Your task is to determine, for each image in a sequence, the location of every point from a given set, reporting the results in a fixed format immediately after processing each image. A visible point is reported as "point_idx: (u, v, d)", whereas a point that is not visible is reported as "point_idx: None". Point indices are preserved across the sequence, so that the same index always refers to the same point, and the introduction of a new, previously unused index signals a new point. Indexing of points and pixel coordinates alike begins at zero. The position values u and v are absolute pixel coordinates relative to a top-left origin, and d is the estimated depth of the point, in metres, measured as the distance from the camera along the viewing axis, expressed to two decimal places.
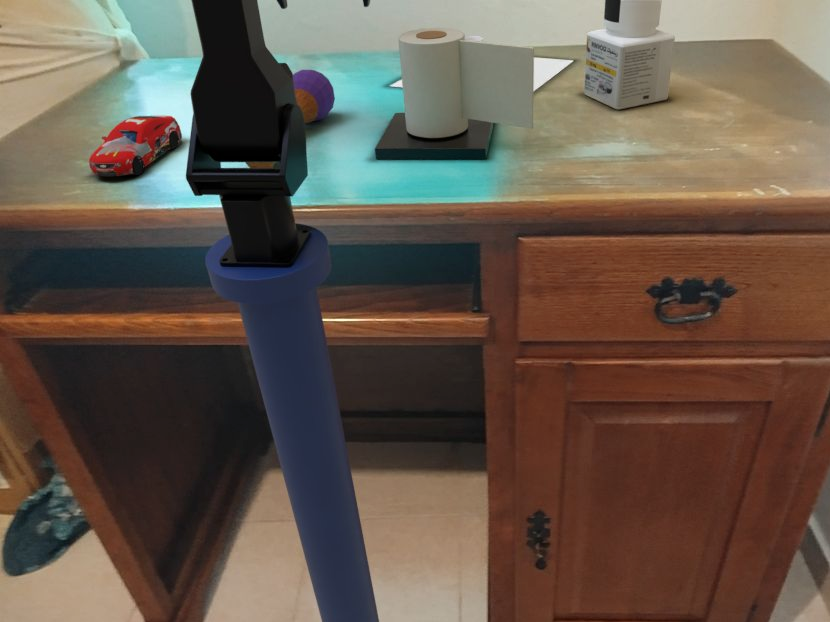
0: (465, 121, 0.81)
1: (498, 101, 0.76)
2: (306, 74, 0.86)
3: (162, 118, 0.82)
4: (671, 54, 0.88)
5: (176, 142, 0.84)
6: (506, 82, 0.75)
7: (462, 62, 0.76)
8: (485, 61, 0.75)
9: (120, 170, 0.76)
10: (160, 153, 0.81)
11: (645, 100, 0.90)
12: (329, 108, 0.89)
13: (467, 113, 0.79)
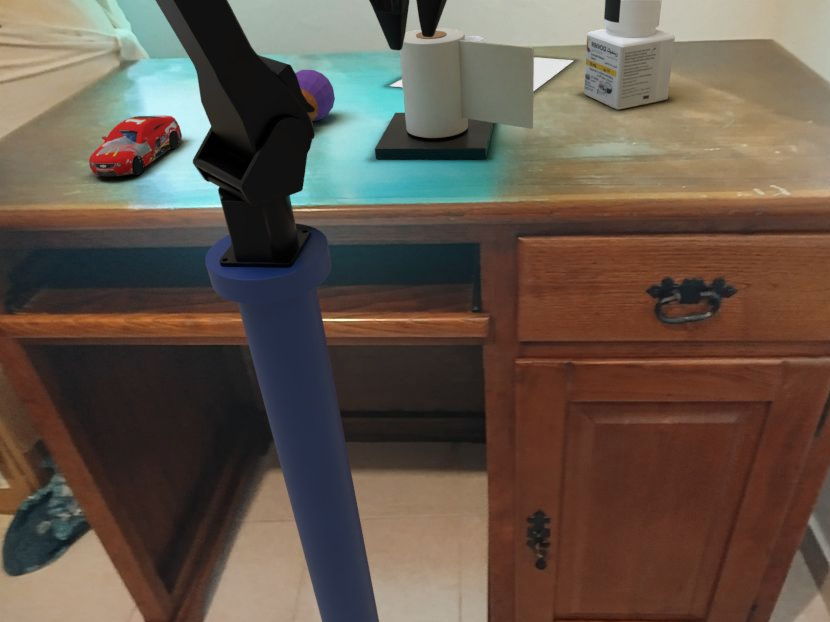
0: (465, 121, 0.81)
1: (498, 101, 0.76)
2: (306, 74, 0.86)
3: (162, 118, 0.82)
4: (671, 54, 0.88)
5: (176, 142, 0.84)
6: (506, 82, 0.75)
7: (462, 62, 0.76)
8: (485, 61, 0.75)
9: (120, 170, 0.76)
10: (160, 153, 0.81)
11: (645, 100, 0.90)
12: (329, 108, 0.89)
13: (467, 113, 0.79)
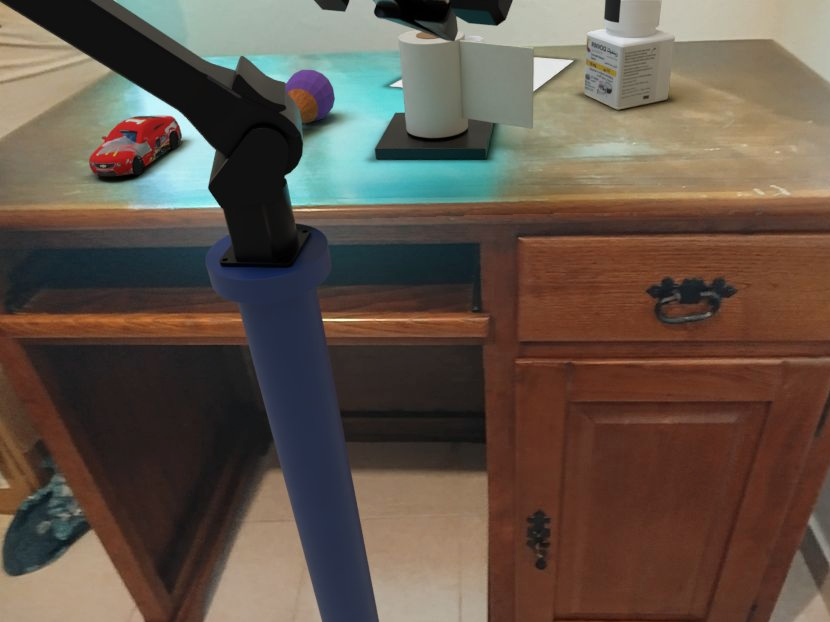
0: (465, 121, 0.81)
1: (498, 101, 0.76)
2: (306, 74, 0.86)
3: (162, 118, 0.82)
4: (671, 54, 0.88)
5: (176, 142, 0.84)
6: (506, 82, 0.75)
7: (462, 62, 0.76)
8: (485, 61, 0.75)
9: (120, 170, 0.76)
10: (160, 153, 0.81)
11: (645, 100, 0.90)
12: (329, 108, 0.89)
13: (467, 113, 0.79)
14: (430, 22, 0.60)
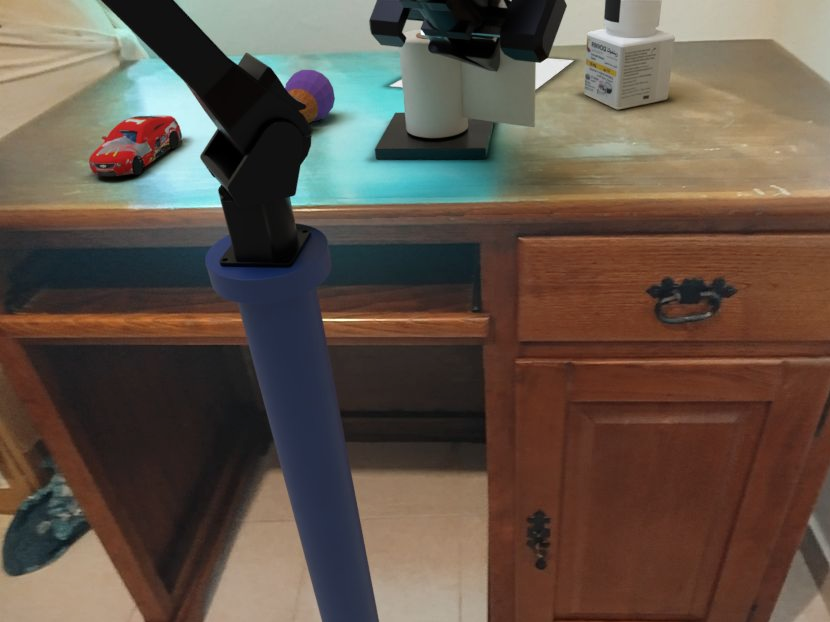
0: (466, 120, 0.81)
1: (499, 100, 0.77)
2: (306, 74, 0.86)
3: (162, 118, 0.82)
4: (671, 54, 0.88)
5: (176, 142, 0.84)
6: (508, 81, 0.75)
7: (463, 62, 0.76)
8: None
9: (120, 170, 0.76)
10: (160, 153, 0.81)
11: (645, 100, 0.90)
12: (329, 108, 0.89)
13: (468, 113, 0.79)
14: (479, 58, 0.68)
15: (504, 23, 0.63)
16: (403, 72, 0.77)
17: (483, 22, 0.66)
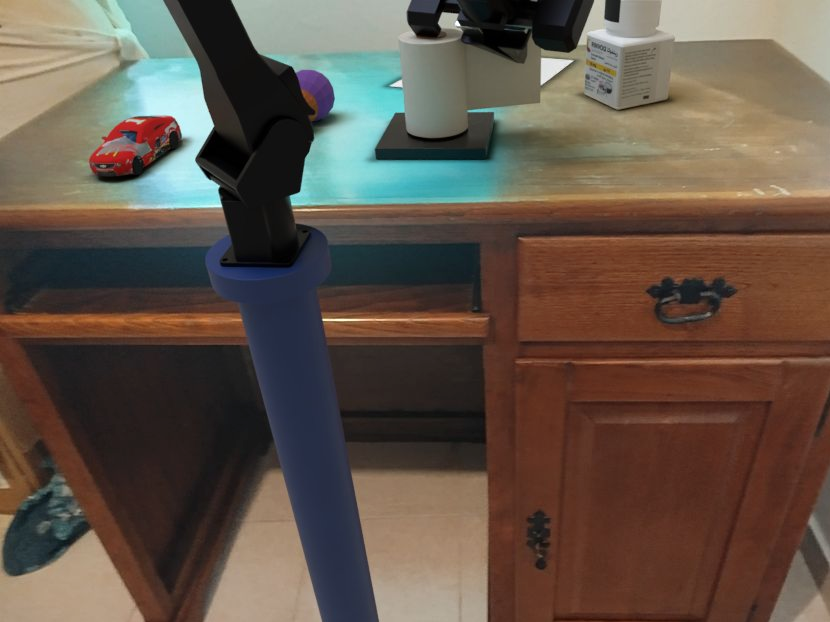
0: None
1: (506, 85, 0.81)
2: (306, 74, 0.86)
3: (162, 118, 0.82)
4: (671, 54, 0.88)
5: (176, 142, 0.84)
6: (515, 64, 0.80)
7: (467, 55, 0.78)
8: None
9: (120, 170, 0.76)
10: (160, 153, 0.81)
11: (645, 100, 0.90)
12: (329, 108, 0.89)
13: (473, 104, 0.81)
14: (511, 48, 0.72)
15: (536, 15, 0.68)
16: (418, 76, 0.76)
17: (515, 15, 0.71)
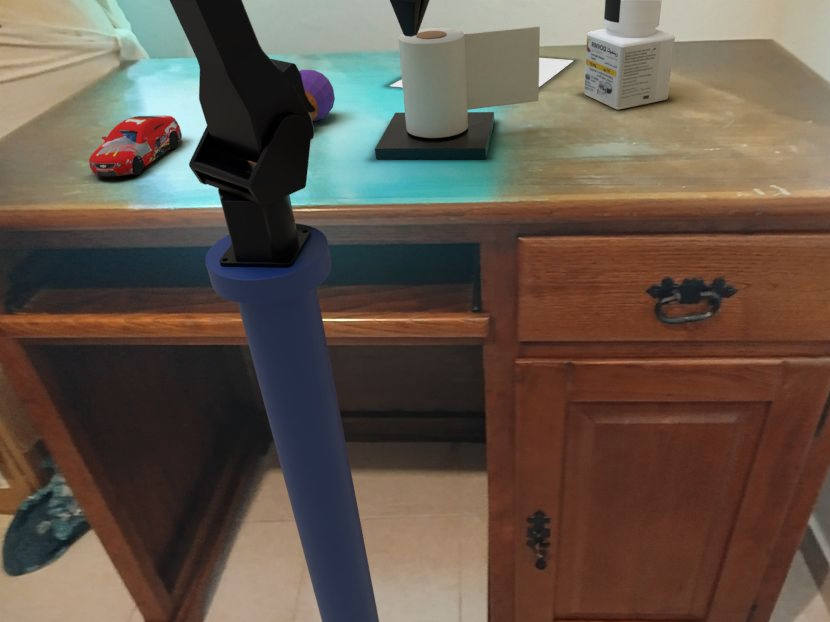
0: None
1: (505, 84, 0.81)
2: (306, 74, 0.86)
3: (162, 118, 0.82)
4: (671, 54, 0.88)
5: (176, 142, 0.84)
6: (514, 63, 0.80)
7: (467, 55, 0.79)
8: (492, 48, 0.79)
9: (120, 170, 0.76)
10: (160, 153, 0.81)
11: (645, 100, 0.90)
12: (329, 108, 0.89)
13: (472, 104, 0.82)
14: None
15: None
16: (420, 76, 0.76)
17: None
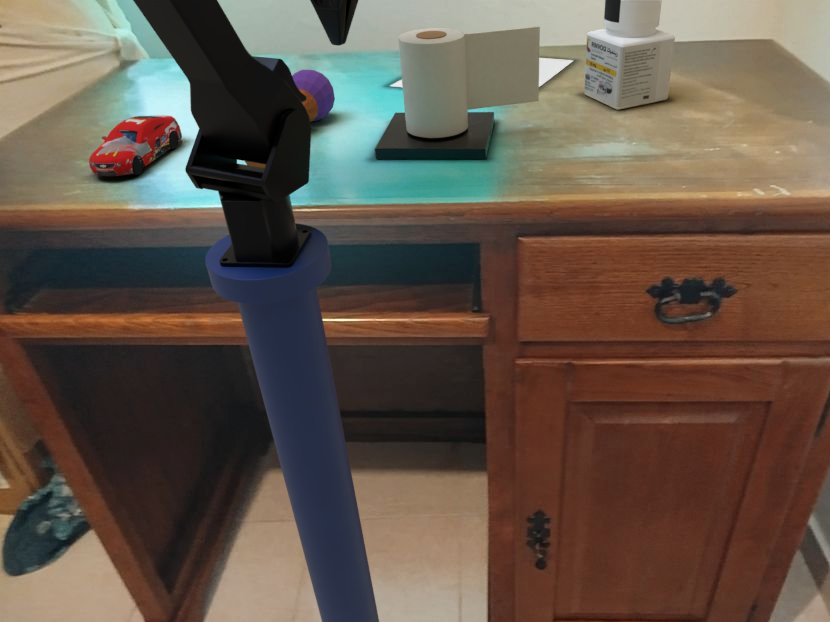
0: None
1: (505, 84, 0.81)
2: (306, 74, 0.86)
3: (162, 118, 0.82)
4: (671, 54, 0.88)
5: (176, 142, 0.84)
6: (514, 63, 0.80)
7: (467, 55, 0.79)
8: (492, 48, 0.79)
9: (120, 170, 0.76)
10: (160, 153, 0.81)
11: (645, 100, 0.90)
12: (329, 108, 0.89)
13: (472, 104, 0.82)
14: None
15: None
16: (420, 76, 0.76)
17: None
